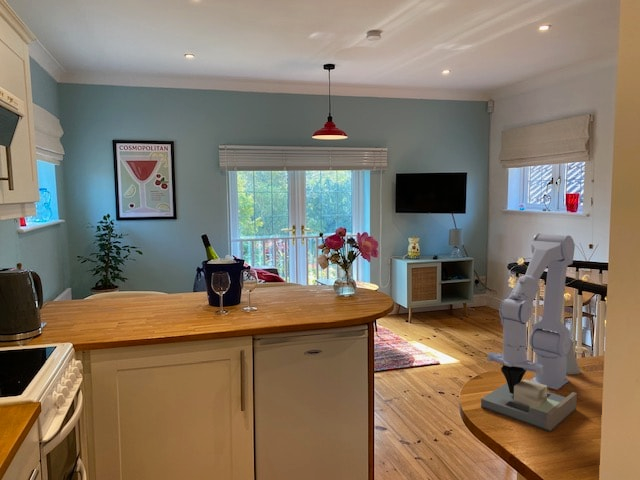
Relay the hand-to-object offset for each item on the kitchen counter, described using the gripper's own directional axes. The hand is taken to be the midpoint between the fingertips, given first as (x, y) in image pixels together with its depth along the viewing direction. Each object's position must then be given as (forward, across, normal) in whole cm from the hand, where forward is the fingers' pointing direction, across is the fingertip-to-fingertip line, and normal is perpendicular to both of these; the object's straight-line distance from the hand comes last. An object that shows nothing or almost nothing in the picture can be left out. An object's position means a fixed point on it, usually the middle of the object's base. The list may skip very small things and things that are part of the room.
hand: (513, 392), depth 128 cm
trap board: (+3, +4, 0) cm, 5 cm away
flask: (+3, +1, +33) cm, 33 cm away
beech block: (+1, +5, 0) cm, 5 cm away
